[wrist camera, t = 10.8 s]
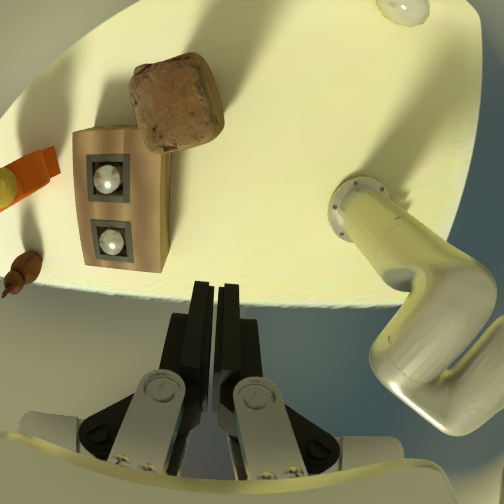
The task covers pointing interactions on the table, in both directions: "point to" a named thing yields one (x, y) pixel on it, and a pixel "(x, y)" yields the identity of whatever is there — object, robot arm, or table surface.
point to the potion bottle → (405, 11)
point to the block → (176, 103)
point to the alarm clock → (26, 176)
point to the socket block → (122, 198)
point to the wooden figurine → (22, 272)
